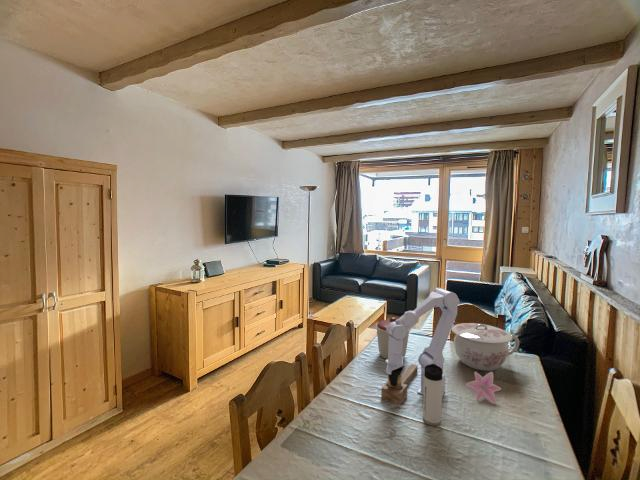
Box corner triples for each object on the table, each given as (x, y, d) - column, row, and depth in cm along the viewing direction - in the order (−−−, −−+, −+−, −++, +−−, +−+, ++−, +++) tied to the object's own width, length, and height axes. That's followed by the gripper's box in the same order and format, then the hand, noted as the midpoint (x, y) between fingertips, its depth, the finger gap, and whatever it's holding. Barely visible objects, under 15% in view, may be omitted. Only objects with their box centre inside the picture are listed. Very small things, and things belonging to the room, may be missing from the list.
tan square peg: (401, 394, 134) (401, 375, 133) (399, 396, 132) (399, 377, 131) (389, 390, 136) (390, 371, 136) (387, 392, 135) (388, 373, 134)
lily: (461, 395, 138) (465, 382, 132) (472, 376, 145) (477, 363, 139) (490, 414, 131) (496, 401, 125) (501, 393, 137) (507, 380, 132)
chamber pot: (440, 363, 165) (441, 323, 163) (464, 348, 183) (465, 312, 182) (500, 385, 144) (502, 339, 142) (520, 365, 163) (522, 325, 161)
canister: (413, 364, 163) (415, 323, 162) (377, 364, 164) (378, 323, 162) (405, 349, 181) (406, 312, 180) (372, 349, 182) (373, 312, 180)
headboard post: (422, 373, 154) (422, 364, 153) (400, 404, 129) (400, 393, 129) (406, 369, 158) (406, 360, 158) (381, 398, 133) (381, 387, 133)
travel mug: (440, 416, 121) (442, 364, 120) (441, 427, 115) (443, 373, 113) (423, 413, 123) (424, 362, 122) (422, 423, 117) (424, 370, 116)
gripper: (392, 344, 141) (391, 374, 142) (379, 355, 129) (378, 388, 130) (408, 347, 137) (407, 378, 138) (396, 360, 125) (395, 394, 126)
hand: (394, 384), depth 134 cm, fingers closed on tan square peg, 2 cm apart
